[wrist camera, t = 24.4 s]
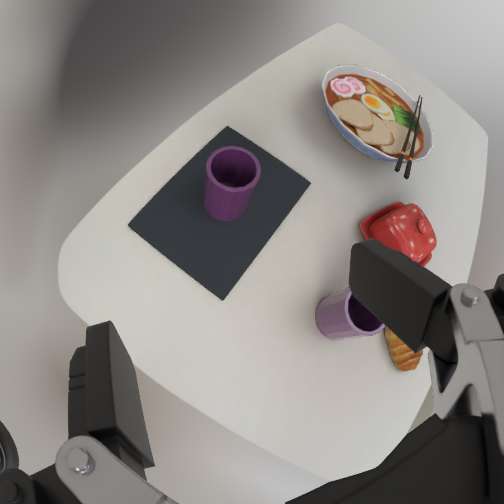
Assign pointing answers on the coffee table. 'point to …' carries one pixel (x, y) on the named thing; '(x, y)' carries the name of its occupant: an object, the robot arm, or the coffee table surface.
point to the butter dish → (402, 231)
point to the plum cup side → (345, 317)
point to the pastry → (401, 352)
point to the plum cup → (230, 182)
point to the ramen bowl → (377, 115)
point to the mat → (210, 229)
